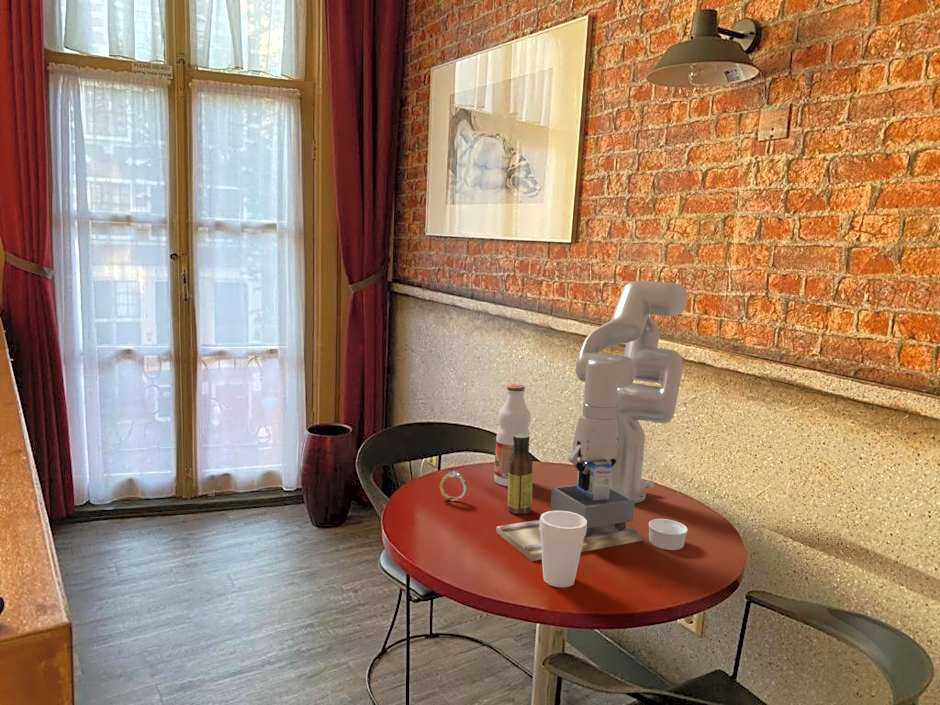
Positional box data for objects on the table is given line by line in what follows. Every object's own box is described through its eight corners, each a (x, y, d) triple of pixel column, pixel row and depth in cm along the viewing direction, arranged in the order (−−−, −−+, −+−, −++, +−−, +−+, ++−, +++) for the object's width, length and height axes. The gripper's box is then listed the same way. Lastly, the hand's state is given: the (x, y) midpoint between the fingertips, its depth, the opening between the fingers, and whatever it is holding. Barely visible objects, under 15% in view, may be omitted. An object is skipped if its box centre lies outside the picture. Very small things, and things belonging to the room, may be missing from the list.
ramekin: (690, 542, 167) (692, 524, 166) (680, 555, 160) (682, 537, 159) (653, 532, 172) (654, 515, 171) (642, 545, 164) (643, 527, 163)
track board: (599, 516, 180) (600, 508, 180) (641, 541, 166) (642, 532, 166) (496, 532, 167) (496, 523, 166) (531, 561, 153) (532, 551, 152)
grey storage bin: (596, 509, 178) (599, 481, 177) (632, 530, 166) (634, 500, 165) (549, 516, 171) (551, 487, 170) (582, 539, 160) (585, 507, 158)
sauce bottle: (531, 507, 184) (536, 433, 181) (531, 516, 177) (536, 439, 174) (506, 505, 184) (510, 431, 181) (505, 514, 178) (509, 437, 175)
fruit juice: (513, 490, 196) (519, 390, 192) (487, 481, 202) (492, 384, 198) (533, 482, 203) (539, 386, 199) (507, 474, 209) (513, 381, 205)
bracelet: (466, 500, 186) (468, 471, 185) (463, 504, 183) (465, 475, 182) (441, 496, 188) (443, 467, 187) (437, 500, 185) (439, 471, 184)
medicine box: (575, 489, 170) (578, 454, 169) (592, 488, 172) (594, 453, 170) (592, 501, 163) (595, 464, 162) (609, 499, 165) (612, 463, 163)
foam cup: (579, 571, 149) (584, 512, 147) (585, 592, 140) (590, 530, 138) (534, 568, 149) (538, 509, 147) (536, 589, 140) (541, 526, 138)
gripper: (618, 406, 172) (612, 478, 174) (559, 410, 164) (553, 486, 167) (638, 413, 165) (631, 488, 168) (578, 418, 157) (572, 496, 160)
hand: (593, 486), depth 167 cm, fingers closed on medicine box, 4 cm apart
